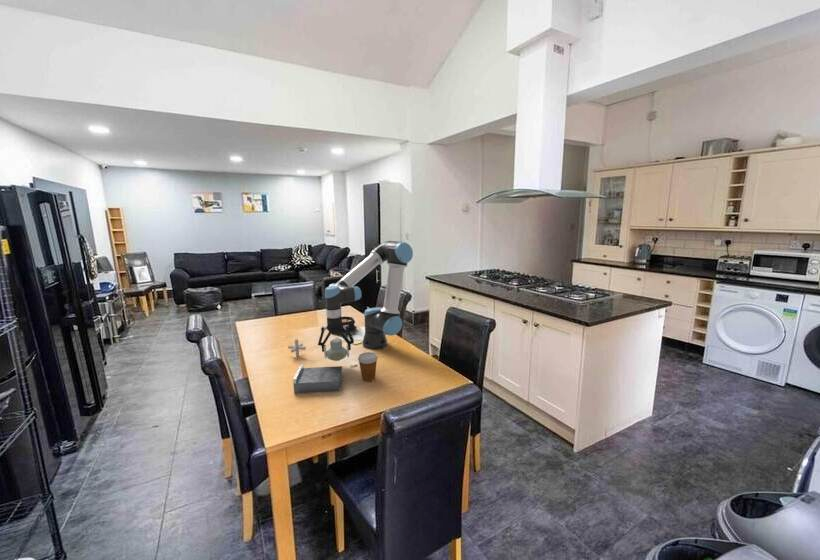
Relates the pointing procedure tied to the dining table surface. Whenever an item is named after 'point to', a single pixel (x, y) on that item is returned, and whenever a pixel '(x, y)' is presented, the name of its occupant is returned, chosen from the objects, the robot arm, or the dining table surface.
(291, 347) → the pipe connector
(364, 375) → the disposable coffee cup
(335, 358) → the air freshener
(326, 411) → the dining table surface
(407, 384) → the dining table surface
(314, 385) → the block
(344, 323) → the casserole
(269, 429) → the dining table surface
